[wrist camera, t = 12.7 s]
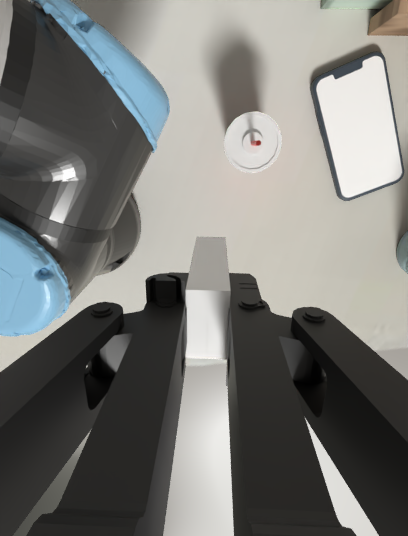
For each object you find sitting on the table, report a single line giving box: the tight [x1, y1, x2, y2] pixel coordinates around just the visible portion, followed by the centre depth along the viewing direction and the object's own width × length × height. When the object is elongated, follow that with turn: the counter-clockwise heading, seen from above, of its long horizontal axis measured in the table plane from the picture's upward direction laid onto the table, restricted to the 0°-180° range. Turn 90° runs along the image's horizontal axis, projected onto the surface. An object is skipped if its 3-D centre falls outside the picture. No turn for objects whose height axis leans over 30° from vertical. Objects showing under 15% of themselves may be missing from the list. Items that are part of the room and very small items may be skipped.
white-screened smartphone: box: [311, 52, 404, 201], centre depth 41 cm, size 9×2×16 cm
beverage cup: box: [224, 111, 282, 173], centre depth 36 cm, size 6×6×14 cm
